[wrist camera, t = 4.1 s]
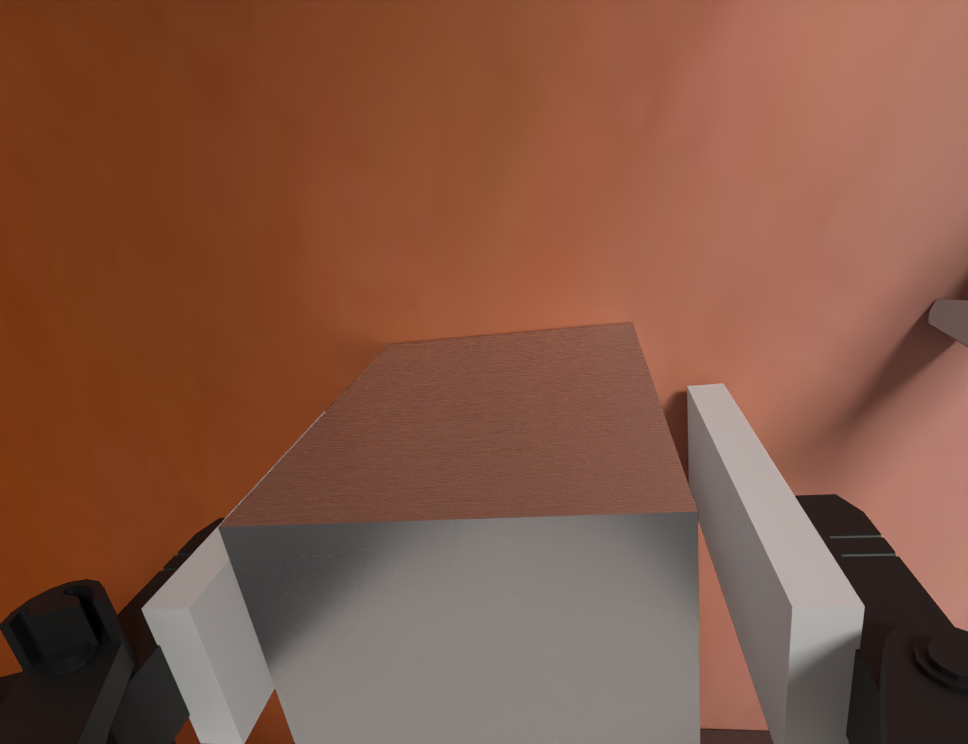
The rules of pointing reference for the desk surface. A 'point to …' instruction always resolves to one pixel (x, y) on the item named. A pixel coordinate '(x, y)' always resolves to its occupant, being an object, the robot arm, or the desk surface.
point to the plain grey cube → (481, 551)
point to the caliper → (951, 318)
